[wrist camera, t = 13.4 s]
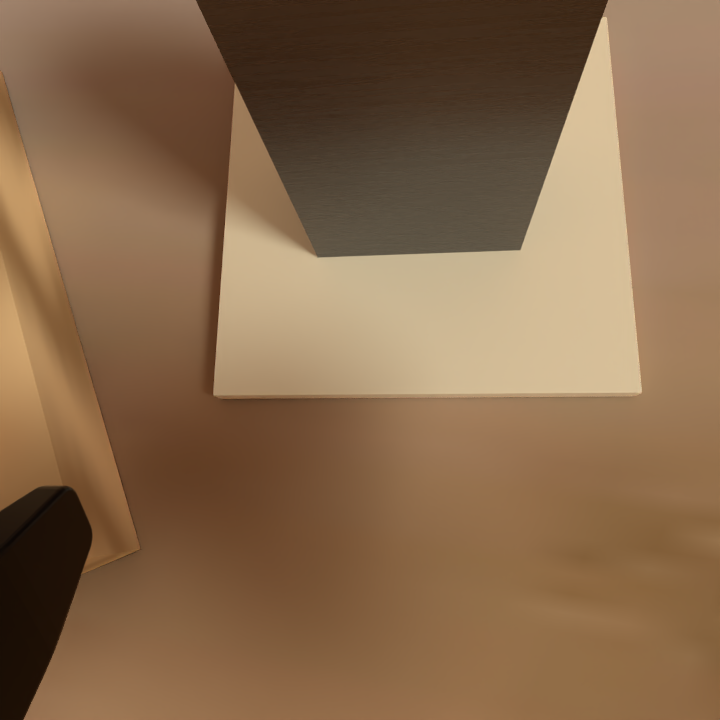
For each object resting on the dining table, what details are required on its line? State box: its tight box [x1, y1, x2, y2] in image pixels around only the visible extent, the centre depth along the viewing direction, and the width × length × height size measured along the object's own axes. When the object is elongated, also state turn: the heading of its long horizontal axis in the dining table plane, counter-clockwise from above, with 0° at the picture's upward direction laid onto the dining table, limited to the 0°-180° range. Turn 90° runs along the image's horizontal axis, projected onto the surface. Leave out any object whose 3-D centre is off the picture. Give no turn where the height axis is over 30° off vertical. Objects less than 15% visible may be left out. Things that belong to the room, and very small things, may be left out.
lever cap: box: [196, 0, 608, 258], centre depth 11 cm, size 3×5×9 cm, turn 89°
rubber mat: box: [213, 17, 642, 399], centre depth 15 cm, size 10×10×1 cm
